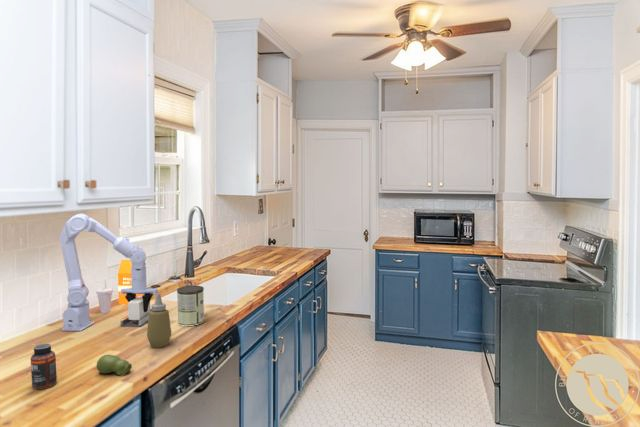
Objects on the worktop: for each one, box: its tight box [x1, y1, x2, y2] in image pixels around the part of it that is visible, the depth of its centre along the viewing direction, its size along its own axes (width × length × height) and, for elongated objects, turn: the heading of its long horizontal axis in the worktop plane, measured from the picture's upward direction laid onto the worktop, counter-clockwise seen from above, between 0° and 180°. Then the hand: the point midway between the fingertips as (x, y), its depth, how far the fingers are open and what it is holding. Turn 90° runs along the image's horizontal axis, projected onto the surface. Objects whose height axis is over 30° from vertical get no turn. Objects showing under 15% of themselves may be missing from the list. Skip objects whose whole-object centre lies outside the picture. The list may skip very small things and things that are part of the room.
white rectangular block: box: [127, 296, 151, 320], centre depth 179 cm, size 10×4×7 cm, turn 177°
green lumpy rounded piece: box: [96, 354, 132, 376], centre depth 131 cm, size 6×5×10 cm
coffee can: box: [176, 285, 205, 327], centre depth 176 cm, size 10×10×14 cm
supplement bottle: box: [30, 343, 58, 390], centre depth 122 cm, size 6×6×11 cm
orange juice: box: [117, 259, 145, 305], centre depth 205 cm, size 8×9×20 cm
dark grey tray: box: [119, 308, 152, 328], centre depth 180 cm, size 16×8×2 cm, turn 178°
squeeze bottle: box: [146, 293, 172, 348], centre depth 152 cm, size 8×8×18 cm
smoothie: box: [95, 279, 114, 314], centre depth 190 cm, size 6×6×14 cm
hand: (139, 311), depth 179 cm, fingers closed on white rectangular block, 4 cm apart
